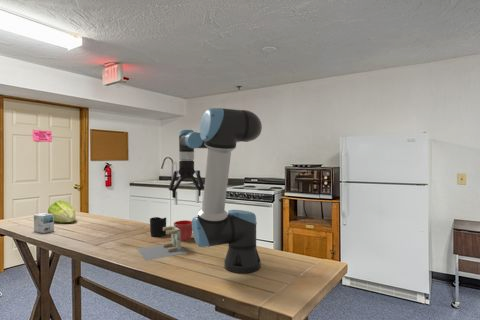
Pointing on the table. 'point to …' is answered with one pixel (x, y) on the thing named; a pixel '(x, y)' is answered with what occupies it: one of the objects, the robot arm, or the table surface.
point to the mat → (158, 252)
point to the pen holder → (157, 226)
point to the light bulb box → (43, 223)
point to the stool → (173, 239)
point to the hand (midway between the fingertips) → (186, 203)
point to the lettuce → (62, 212)
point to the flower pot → (184, 229)
